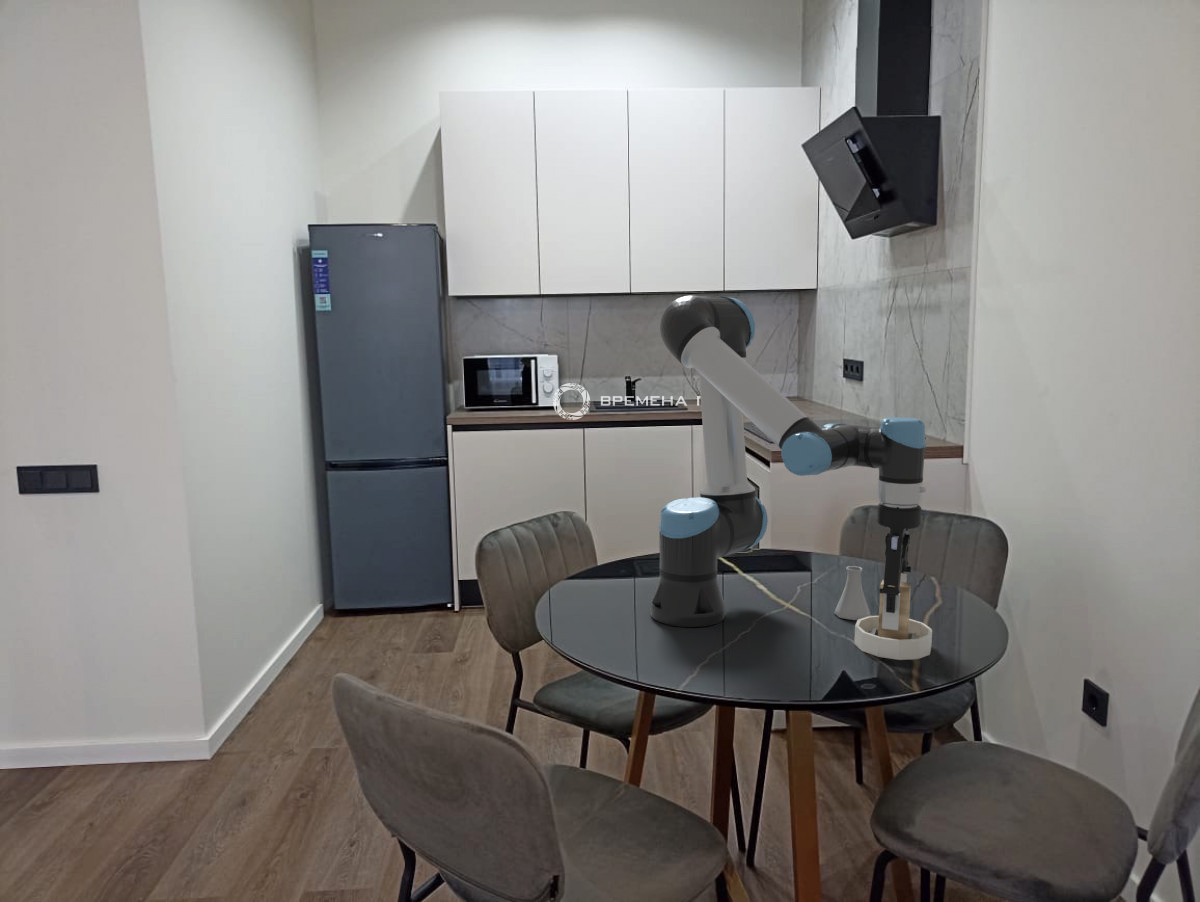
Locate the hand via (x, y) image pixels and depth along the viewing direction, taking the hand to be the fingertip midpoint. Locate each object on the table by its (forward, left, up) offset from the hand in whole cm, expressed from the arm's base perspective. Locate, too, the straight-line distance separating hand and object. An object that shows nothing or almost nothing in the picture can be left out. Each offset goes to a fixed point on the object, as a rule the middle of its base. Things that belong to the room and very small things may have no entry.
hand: (893, 617), depth 159 cm
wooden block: (0, 0, -5) cm, 5 cm away
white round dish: (0, 0, -6) cm, 6 cm away
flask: (-9, +14, -6) cm, 18 cm away
